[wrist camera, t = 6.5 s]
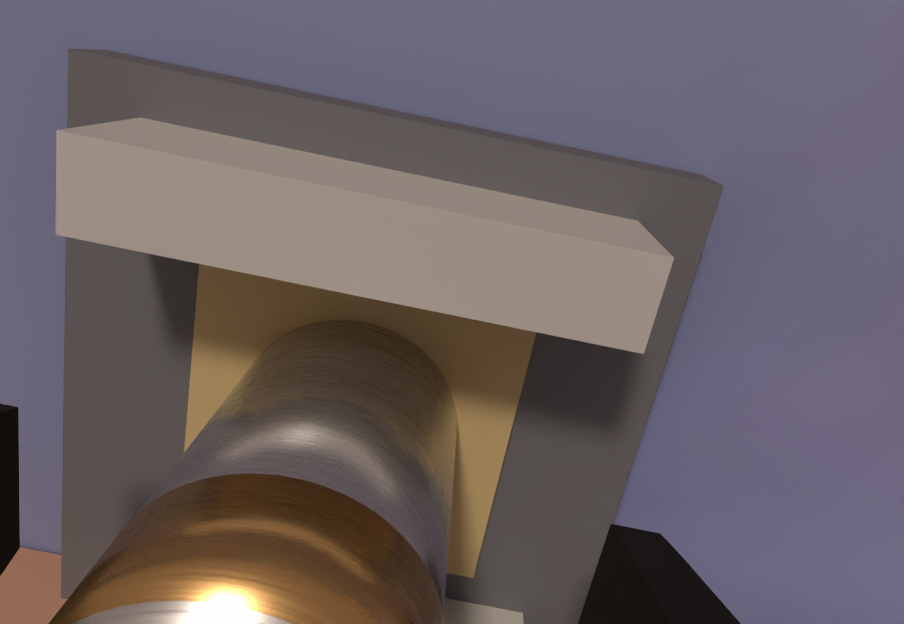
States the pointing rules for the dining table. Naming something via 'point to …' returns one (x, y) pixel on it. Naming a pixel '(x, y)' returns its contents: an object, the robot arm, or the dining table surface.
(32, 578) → the small wooden tray
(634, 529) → the robot arm
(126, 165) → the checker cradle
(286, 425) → the cell
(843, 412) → the dining table surface
